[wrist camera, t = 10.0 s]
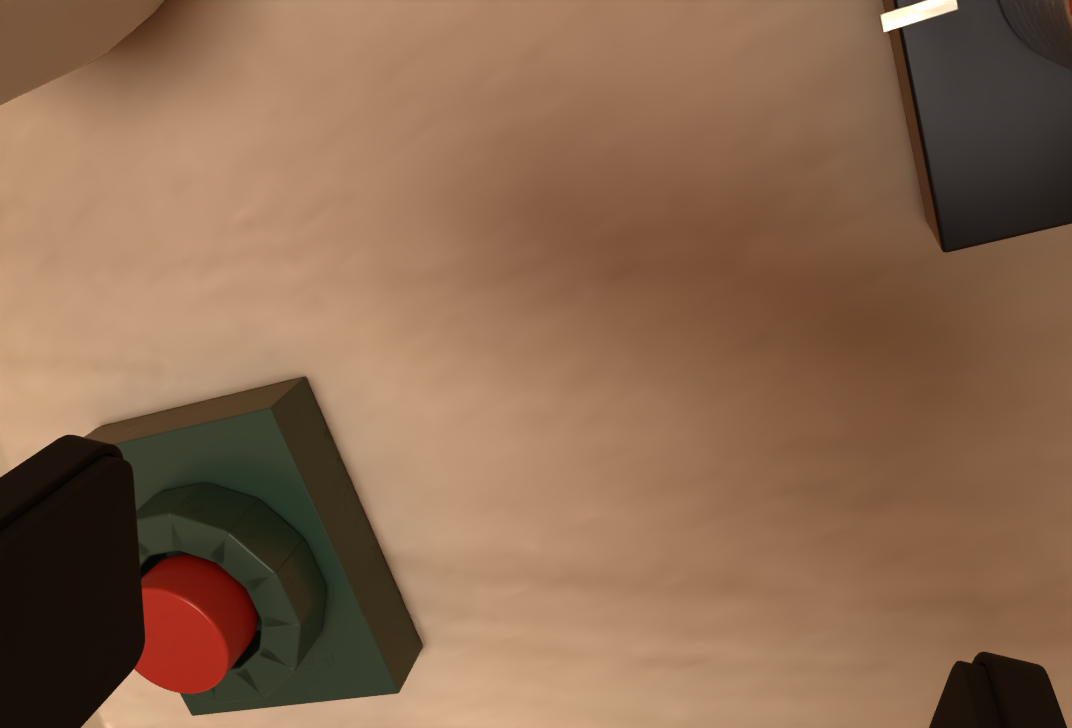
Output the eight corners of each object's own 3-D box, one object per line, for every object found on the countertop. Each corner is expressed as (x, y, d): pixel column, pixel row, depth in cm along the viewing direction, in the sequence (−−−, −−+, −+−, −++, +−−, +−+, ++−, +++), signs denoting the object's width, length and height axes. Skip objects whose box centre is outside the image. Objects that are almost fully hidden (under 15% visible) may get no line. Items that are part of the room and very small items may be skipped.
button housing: (423, 647, 31) (377, 736, 28) (225, 672, 34) (160, 756, 31) (305, 376, 28) (236, 437, 25) (98, 426, 31) (9, 488, 27)
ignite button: (277, 647, 28) (248, 688, 26) (179, 660, 29) (145, 700, 28) (227, 544, 27) (192, 581, 25) (127, 562, 28) (88, 598, 27)
